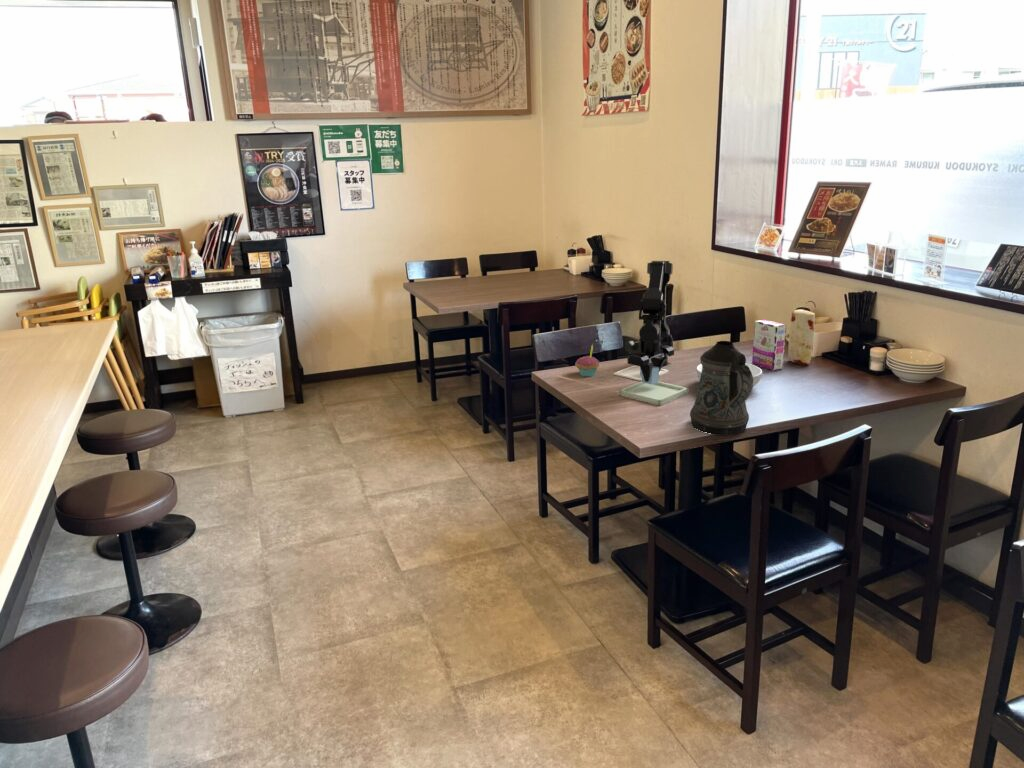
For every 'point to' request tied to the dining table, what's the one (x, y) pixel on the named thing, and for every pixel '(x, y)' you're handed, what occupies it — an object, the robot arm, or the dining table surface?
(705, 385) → the beer stein
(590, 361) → the cupcake
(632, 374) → the dish
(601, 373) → the dining table surface
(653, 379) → the block
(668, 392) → the tray
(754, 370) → the serving bowl
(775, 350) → the candy bar box
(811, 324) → the food model
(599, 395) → the dining table surface
